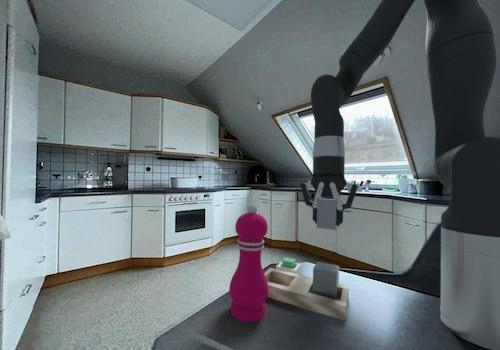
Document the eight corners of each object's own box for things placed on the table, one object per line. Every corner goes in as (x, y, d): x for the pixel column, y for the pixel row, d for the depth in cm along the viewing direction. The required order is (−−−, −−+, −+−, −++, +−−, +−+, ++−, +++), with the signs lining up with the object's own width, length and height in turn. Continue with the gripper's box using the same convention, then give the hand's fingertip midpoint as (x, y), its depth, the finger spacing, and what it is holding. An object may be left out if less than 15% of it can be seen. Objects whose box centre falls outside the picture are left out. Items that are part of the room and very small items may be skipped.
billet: (338, 300, 44) (339, 265, 45) (336, 310, 40) (336, 273, 41) (316, 294, 46) (317, 261, 47) (312, 304, 43) (313, 268, 43)
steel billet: (337, 227, 55) (338, 199, 55) (335, 230, 51) (336, 200, 51) (319, 225, 57) (320, 198, 57) (316, 227, 53) (317, 199, 53)
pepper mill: (268, 328, 36) (273, 207, 36) (225, 326, 36) (231, 205, 37) (266, 304, 43) (270, 203, 44) (230, 302, 43) (234, 202, 44)
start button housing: (300, 275, 57) (301, 264, 57) (295, 283, 53) (296, 270, 53) (282, 271, 60) (282, 260, 60) (275, 278, 55) (276, 266, 55)
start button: (295, 268, 57) (295, 259, 57) (292, 272, 54) (292, 262, 55) (285, 266, 58) (285, 257, 58) (281, 269, 56) (282, 260, 56)
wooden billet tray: (348, 300, 46) (348, 286, 46) (345, 324, 38) (345, 306, 38) (269, 279, 54) (270, 267, 54) (253, 295, 46) (254, 281, 46)
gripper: (360, 157, 54) (359, 225, 54) (303, 159, 61) (302, 219, 60) (359, 153, 48) (359, 230, 47) (296, 155, 54) (295, 223, 54)
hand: (327, 224), depth 54 cm, fingers closed on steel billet, 4 cm apart
